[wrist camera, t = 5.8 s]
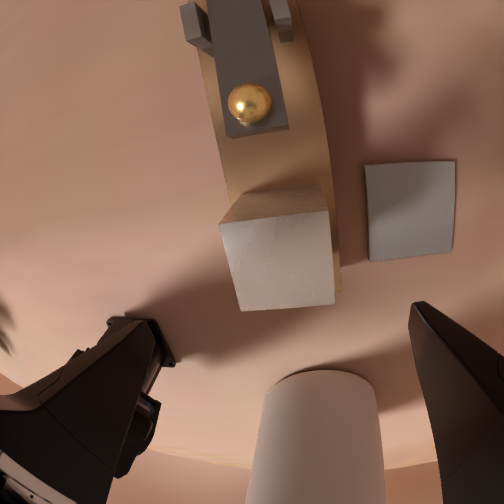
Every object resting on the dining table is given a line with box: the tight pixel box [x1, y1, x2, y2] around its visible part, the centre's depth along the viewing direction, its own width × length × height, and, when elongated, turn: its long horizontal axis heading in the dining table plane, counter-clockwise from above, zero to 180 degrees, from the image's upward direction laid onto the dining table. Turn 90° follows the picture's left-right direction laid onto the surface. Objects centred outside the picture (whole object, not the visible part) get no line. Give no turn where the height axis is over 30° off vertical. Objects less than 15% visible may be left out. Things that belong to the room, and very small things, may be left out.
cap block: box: [219, 183, 335, 311], centre depth 14 cm, size 4×4×5 cm
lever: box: [206, 0, 290, 139], centre depth 9 cm, size 12×2×2 cm, turn 11°
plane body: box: [179, 0, 341, 292], centre depth 14 cm, size 20×6×7 cm, turn 11°
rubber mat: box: [364, 161, 455, 262], centre depth 18 cm, size 7×7×1 cm
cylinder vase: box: [245, 370, 386, 504], centre depth 17 cm, size 12×12×25 cm
